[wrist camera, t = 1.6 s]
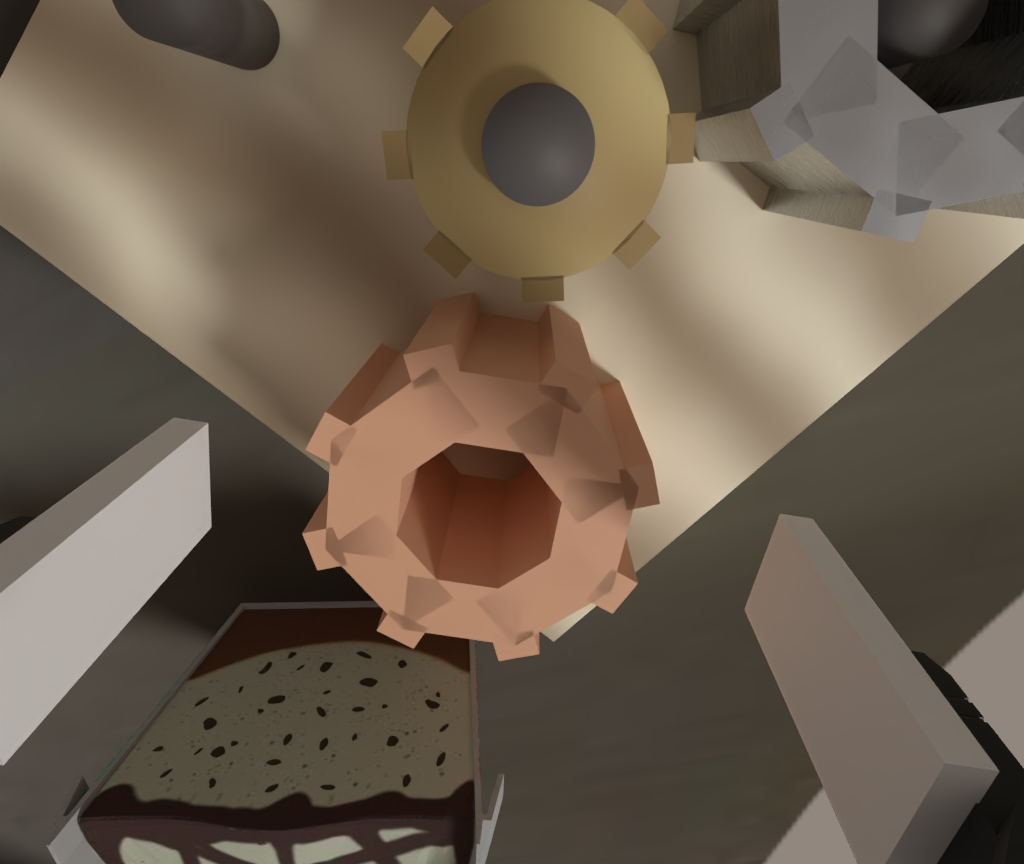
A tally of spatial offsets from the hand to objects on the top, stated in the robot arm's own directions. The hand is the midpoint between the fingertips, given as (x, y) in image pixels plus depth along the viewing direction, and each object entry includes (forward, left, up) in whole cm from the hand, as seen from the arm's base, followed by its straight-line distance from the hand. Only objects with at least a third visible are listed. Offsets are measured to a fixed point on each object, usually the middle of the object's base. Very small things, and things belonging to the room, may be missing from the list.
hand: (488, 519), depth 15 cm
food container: (-12, -3, -8) cm, 15 cm away
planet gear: (0, 0, -7) cm, 7 cm away
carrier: (+7, +5, -8) cm, 11 cm away
